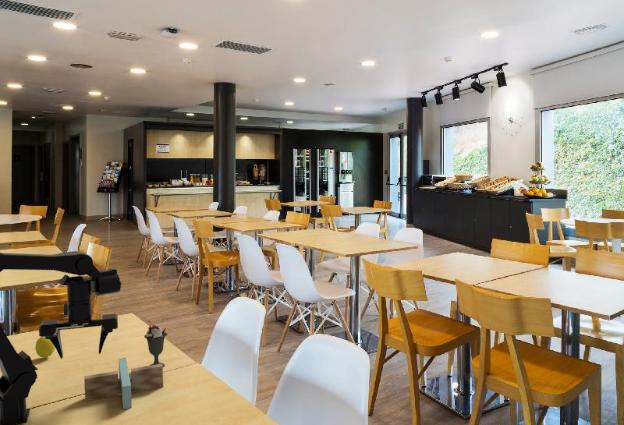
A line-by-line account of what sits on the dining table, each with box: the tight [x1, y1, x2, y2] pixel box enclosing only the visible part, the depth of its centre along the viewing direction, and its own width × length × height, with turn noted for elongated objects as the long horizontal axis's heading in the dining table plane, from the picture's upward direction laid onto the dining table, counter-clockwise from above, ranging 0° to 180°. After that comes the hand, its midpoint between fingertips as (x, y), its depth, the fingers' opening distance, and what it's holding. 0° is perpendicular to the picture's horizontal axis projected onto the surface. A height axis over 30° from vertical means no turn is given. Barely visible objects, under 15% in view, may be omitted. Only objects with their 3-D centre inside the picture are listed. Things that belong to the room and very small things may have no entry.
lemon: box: [35, 336, 56, 360], centre depth 156 cm, size 6×6×8 cm
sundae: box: [143, 320, 168, 368], centre depth 150 cm, size 7×7×15 cm
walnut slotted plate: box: [83, 364, 164, 402], centre depth 133 cm, size 20×2×6 cm, turn 114°
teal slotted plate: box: [118, 357, 133, 410], centre depth 133 cm, size 20×2×6 cm, turn 25°
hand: (81, 355), depth 130 cm, fingers open, 9 cm apart
